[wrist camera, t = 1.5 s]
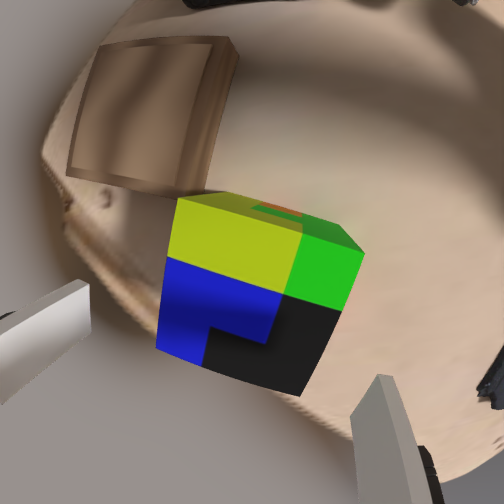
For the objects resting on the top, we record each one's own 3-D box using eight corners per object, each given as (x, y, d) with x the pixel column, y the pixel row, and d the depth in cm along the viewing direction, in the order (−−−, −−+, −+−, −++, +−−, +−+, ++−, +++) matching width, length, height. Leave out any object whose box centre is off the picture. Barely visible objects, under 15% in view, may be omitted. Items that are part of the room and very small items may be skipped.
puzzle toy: (203, 293, 26) (155, 348, 17) (227, 191, 23) (178, 197, 14) (302, 324, 25) (299, 396, 16) (338, 224, 22) (364, 253, 13)
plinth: (239, 56, 20) (227, 35, 16) (202, 198, 24) (182, 201, 20) (120, 57, 21) (98, 45, 17) (90, 174, 25) (63, 175, 21)
